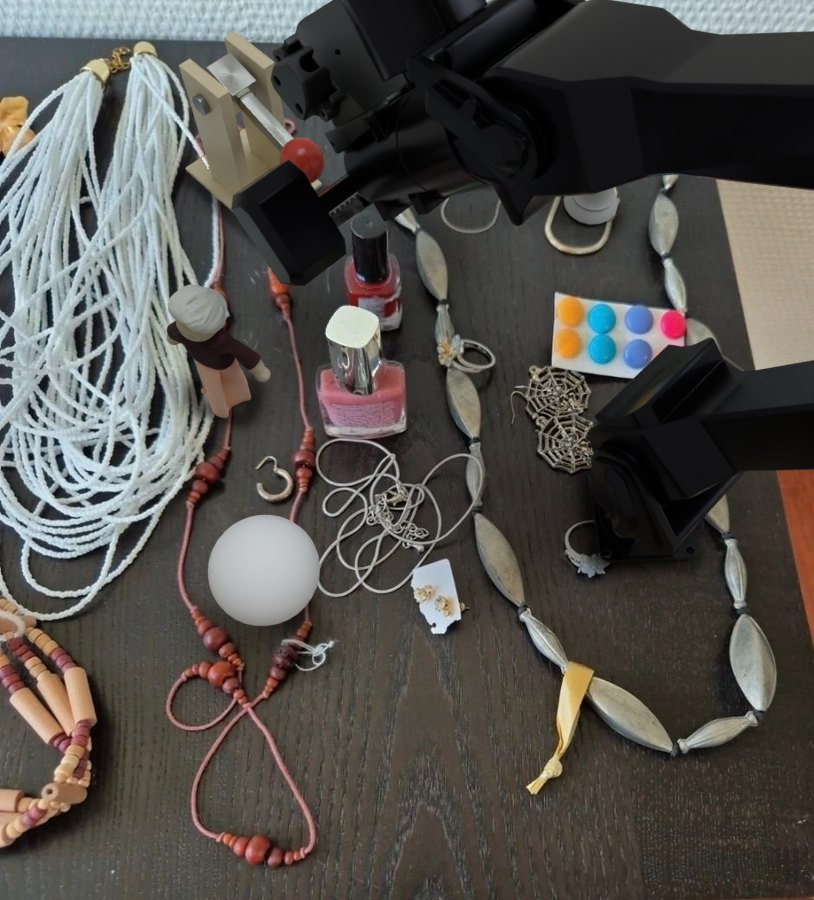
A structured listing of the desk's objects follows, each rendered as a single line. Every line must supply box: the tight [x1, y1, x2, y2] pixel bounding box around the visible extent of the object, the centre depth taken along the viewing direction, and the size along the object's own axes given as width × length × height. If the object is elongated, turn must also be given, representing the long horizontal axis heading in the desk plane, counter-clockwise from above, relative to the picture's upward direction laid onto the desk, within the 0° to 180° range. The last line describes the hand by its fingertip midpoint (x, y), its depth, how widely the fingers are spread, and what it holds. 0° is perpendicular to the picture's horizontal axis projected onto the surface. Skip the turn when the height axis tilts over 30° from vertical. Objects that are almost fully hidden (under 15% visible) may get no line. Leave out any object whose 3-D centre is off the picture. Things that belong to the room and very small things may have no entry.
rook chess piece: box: [563, 188, 619, 226], centre depth 60 cm, size 4×4×8 cm
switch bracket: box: [178, 30, 323, 213], centre depth 60 cm, size 9×7×12 cm
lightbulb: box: [207, 514, 321, 627], centre depth 46 cm, size 6×6×11 cm
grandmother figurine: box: [166, 283, 271, 419], centre depth 51 cm, size 8×4×13 cm, turn 76°
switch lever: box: [205, 52, 326, 183], centre depth 56 cm, size 10×3×3 cm, turn 45°
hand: (324, 178), depth 55 cm, fingers open, 9 cm apart
